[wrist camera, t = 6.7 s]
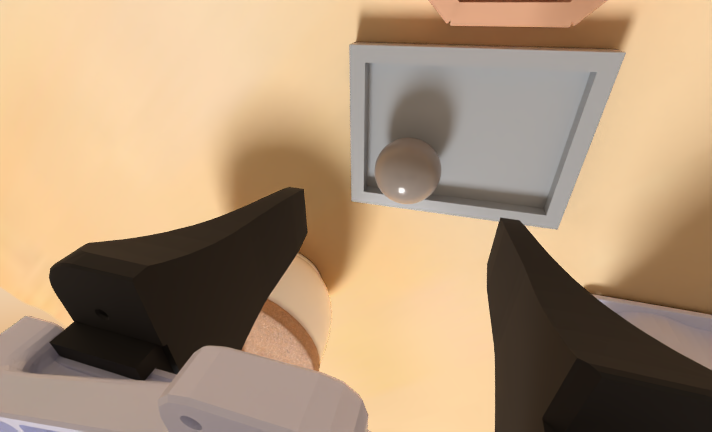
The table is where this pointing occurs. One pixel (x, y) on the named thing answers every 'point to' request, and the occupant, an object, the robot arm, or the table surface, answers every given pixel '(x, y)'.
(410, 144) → the pebble dark
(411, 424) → the table surface
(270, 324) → the lidded jar
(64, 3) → the table surface
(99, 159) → the table surface
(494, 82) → the tray
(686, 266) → the table surface
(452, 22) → the bowl
